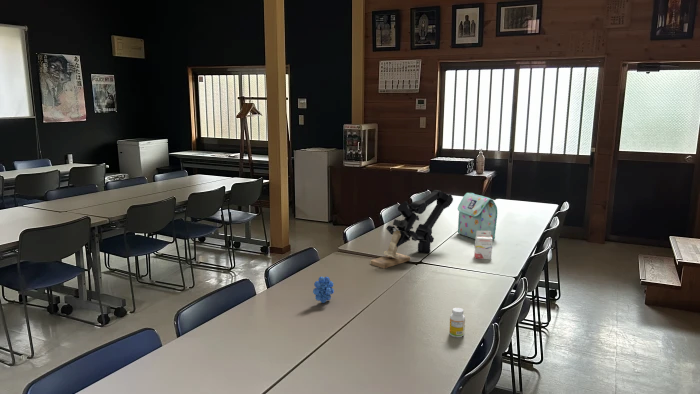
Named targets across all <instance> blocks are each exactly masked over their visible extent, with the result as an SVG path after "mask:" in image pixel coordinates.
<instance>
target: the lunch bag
mask: <svg viewBox="0 0 700 394" xmlns="http://www.w3.org/2000/svg"><path fill="white" fill-rule="evenodd" d="M457 211H458V222H457V223H458V224H457V233H458V234H460V235H462V236H465V237H468V238H470V239H473V240H475V237H476V231H491V237H492V239H493V240H496V228H497V219H498V207H497V204H496V203H495V201H494V199H492V198H490V197H487V196H483V195H479V194H475V193H474V192H466V193H465V194H464V196H462V198H461V201H460V202H459V204H458V206H457ZM481 234H486V233H484V232H483V233H481Z"/></svg>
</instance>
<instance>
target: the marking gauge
mask: <svg viewBox="0 0 700 394" xmlns="http://www.w3.org/2000/svg"><path fill="white" fill-rule="evenodd" d="M397 230H398V229H397ZM397 230H396V232H393V235H392V234H391V238H390V239H391V240H390V243H389V246H388V248H387V250H383V251H384V252H383V255H384V256H387V255H388V256H391V257H394V258H398V256H399V255H398V254H396V253H397V251H398V248H399V246H398V247H396V245H397V243H398V241H399V239H400V237H401V234H400V231H397Z"/></svg>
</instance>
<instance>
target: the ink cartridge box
mask: <svg viewBox="0 0 700 394" xmlns="http://www.w3.org/2000/svg"><path fill="white" fill-rule="evenodd" d="M483 232H484V233H486V234H481V233H483ZM493 240H494V239H492V237H491V231H476V237H475V239H474V255H473V256H474V258H475V259H478V260H492V253H493Z"/></svg>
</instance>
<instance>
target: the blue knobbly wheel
mask: <svg viewBox="0 0 700 394" xmlns="http://www.w3.org/2000/svg"><path fill="white" fill-rule="evenodd" d="M333 287H334V282H333V281H332V280H330V277H328V276H319V277H318V280H316V281H315V282H314V288H313V291H312V294H313V295H315V300H316V301H318V302H319V301H320V303H322V304H325V303H326V302H327V301H330V300H331V299H332V295H333V294H334V293H335V290H334V288H333Z"/></svg>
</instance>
